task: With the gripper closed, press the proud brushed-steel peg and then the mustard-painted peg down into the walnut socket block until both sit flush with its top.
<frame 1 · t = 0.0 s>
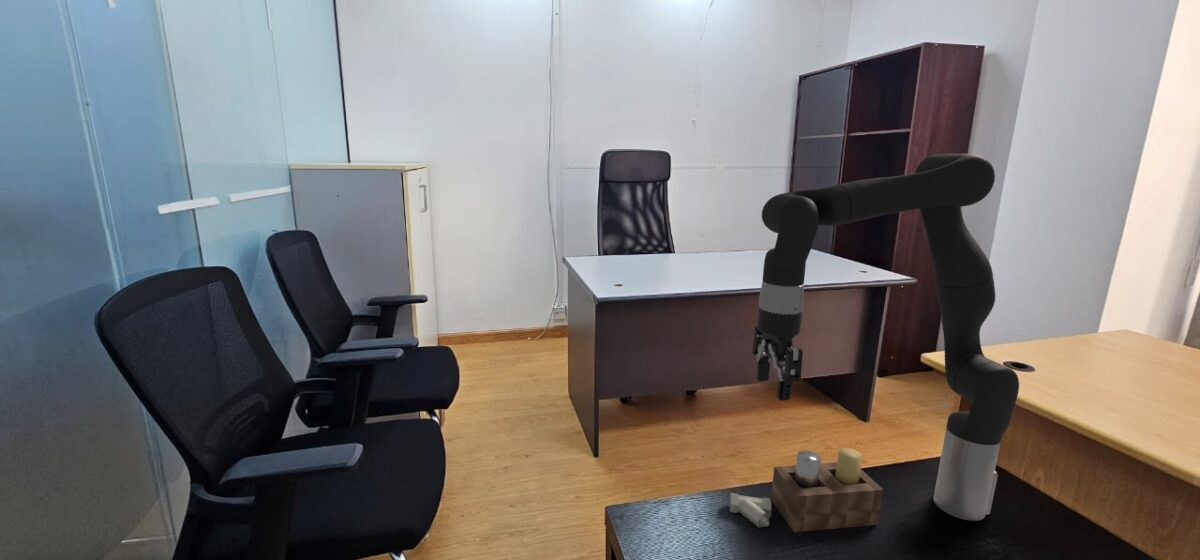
hand: (772, 389, 98), 29 cm above the table, fingers open, 8 cm apart
mustard peg: (848, 470, 107), point 9 cm above the table, slide at 5.0 cm
steel peg: (807, 473, 106), point 9 cm above the table, slide at 5.0 cm
pipe fitting: (749, 519, 106), on the table
socket block: (822, 511, 108), on the table
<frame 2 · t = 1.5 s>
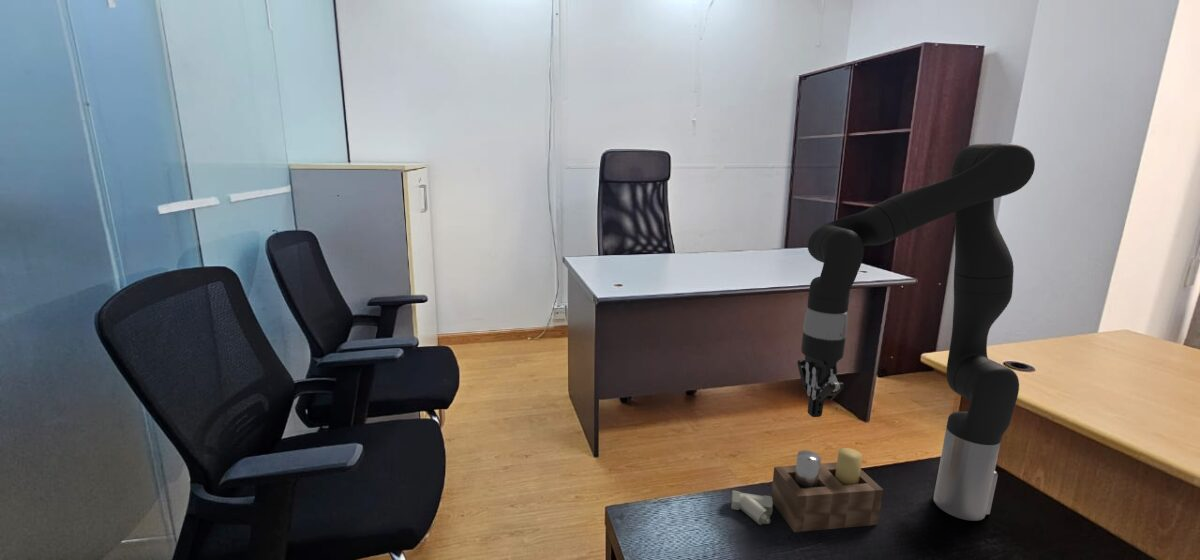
hand: (814, 415, 103), 22 cm above the table, fingers closed
pipe fitting: (751, 516, 107), on the table
everything else where it was.
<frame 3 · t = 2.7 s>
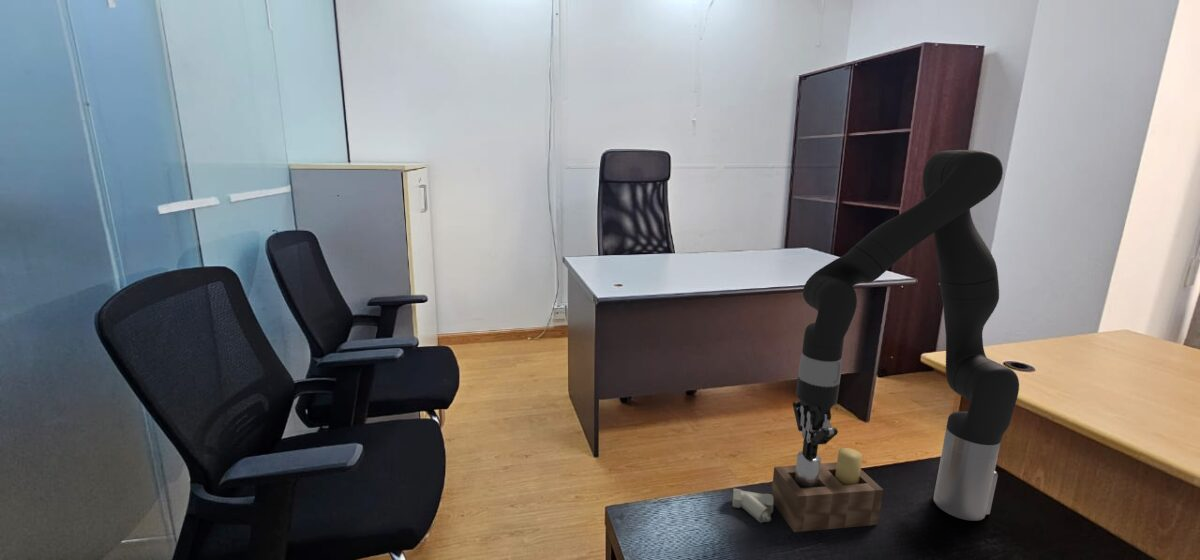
hand: (808, 456, 105), 13 cm above the table, fingers closed
steel peg: (807, 473, 106), point 9 cm above the table, slide at 4.9 cm, touching gripper
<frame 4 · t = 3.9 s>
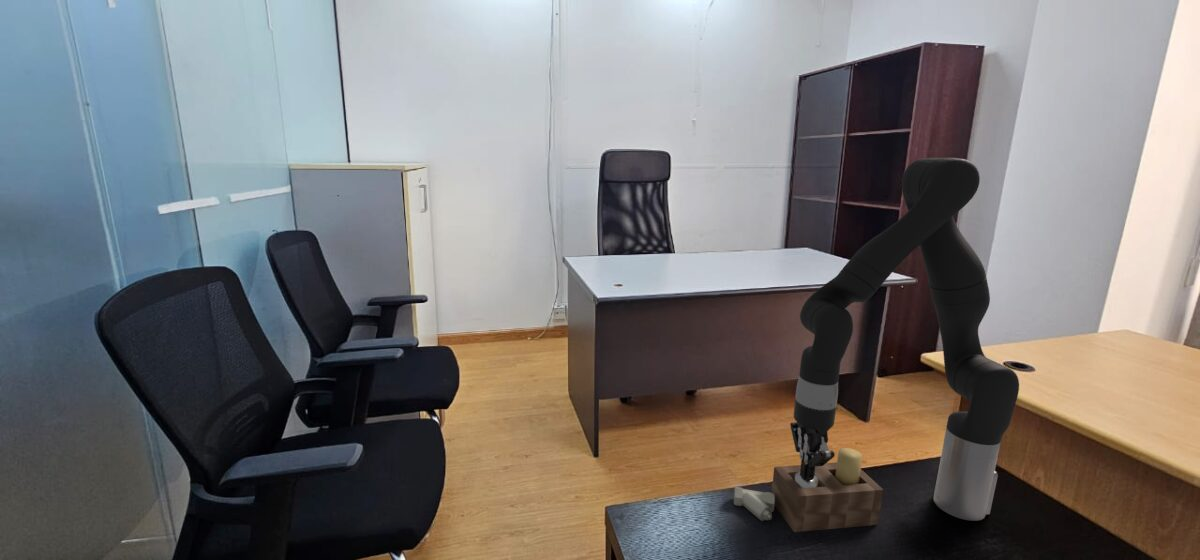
hand: (806, 477, 106), 8 cm above the table, fingers closed
steel peg: (804, 494, 107), point 5 cm above the table, slide at 0.1 cm, touching gripper
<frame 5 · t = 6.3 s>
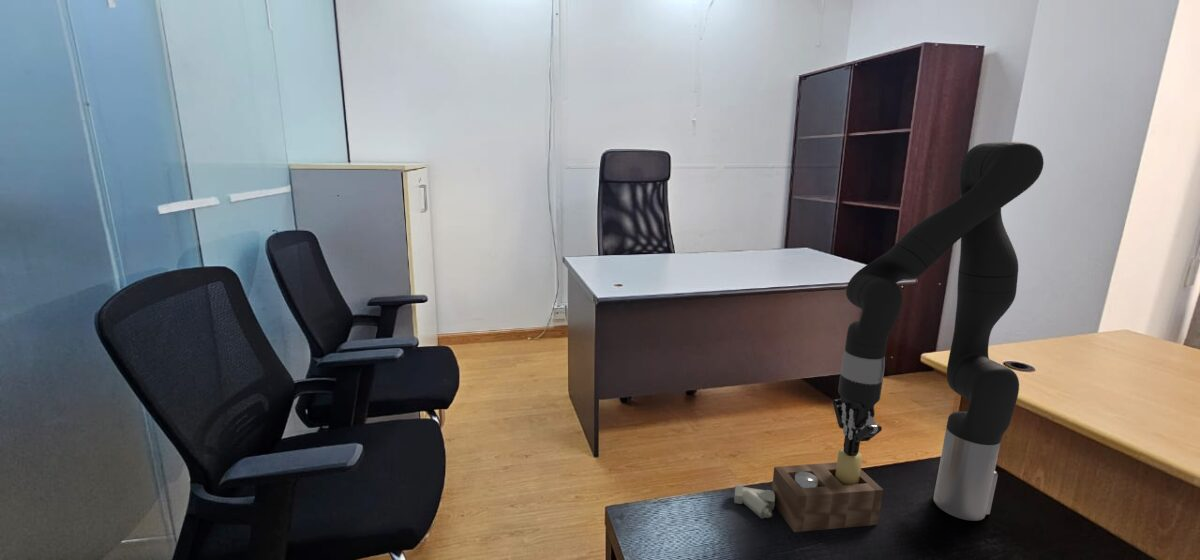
hand: (850, 453, 106), 13 cm above the table, fingers closed
mustard peg: (848, 470, 107), point 9 cm above the table, slide at 5.0 cm, touching gripper
steel peg: (804, 494, 107), point 5 cm above the table, slide at 0.1 cm
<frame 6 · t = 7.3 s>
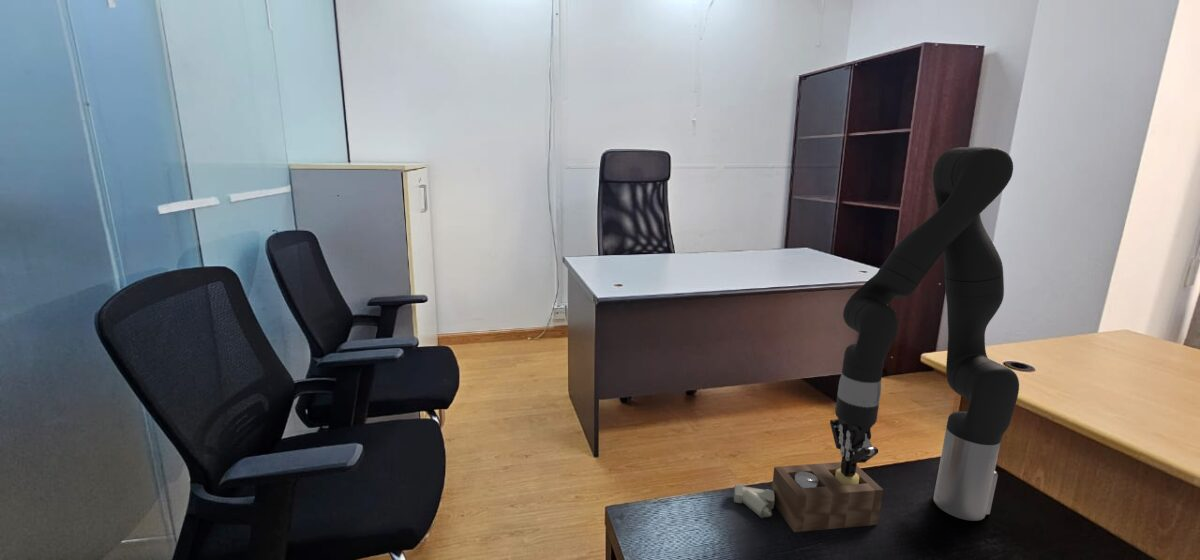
hand: (847, 474, 107), 8 cm above the table, fingers closed
mustard peg: (845, 490, 108), point 5 cm above the table, slide at 0.2 cm, touching gripper
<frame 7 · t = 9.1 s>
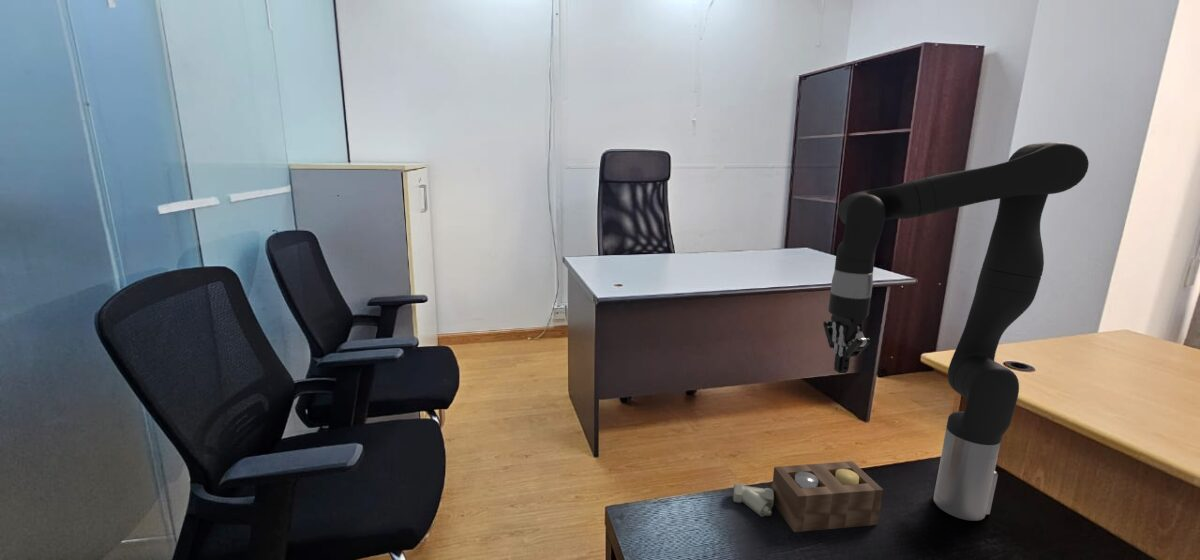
hand: (840, 371, 110), 28 cm above the table, fingers closed
mustard peg: (845, 491, 108), point 5 cm above the table, slide at 0.1 cm
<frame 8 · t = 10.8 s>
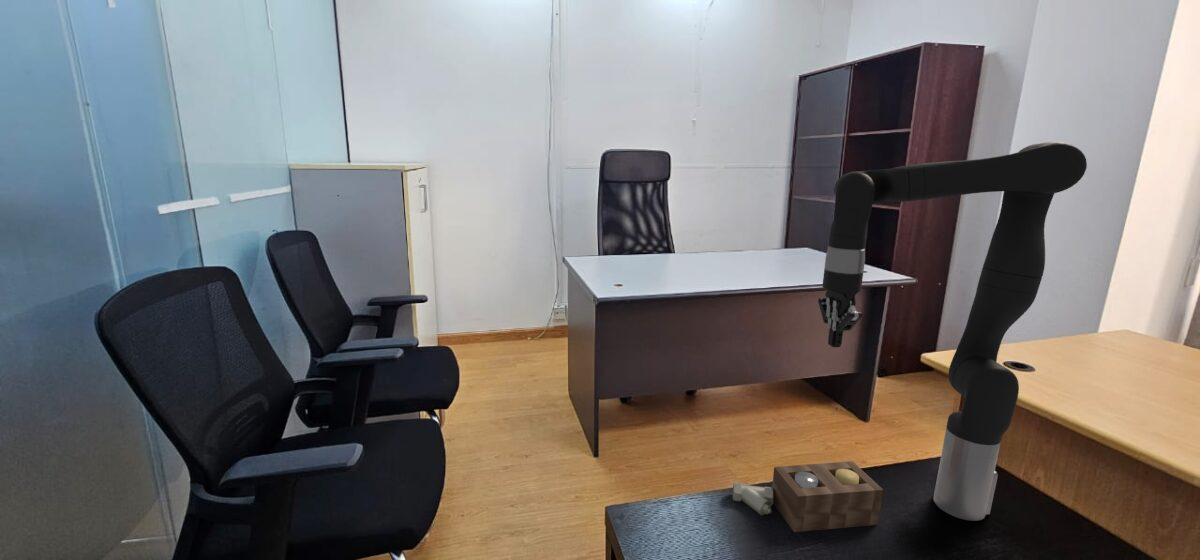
hand: (834, 345, 113), 32 cm above the table, fingers closed
at the end: steel peg slide at 0.1 cm; mustard peg slide at 0.1 cm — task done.
